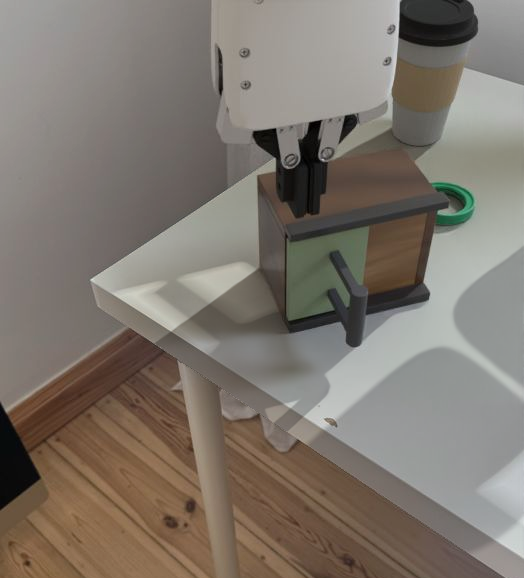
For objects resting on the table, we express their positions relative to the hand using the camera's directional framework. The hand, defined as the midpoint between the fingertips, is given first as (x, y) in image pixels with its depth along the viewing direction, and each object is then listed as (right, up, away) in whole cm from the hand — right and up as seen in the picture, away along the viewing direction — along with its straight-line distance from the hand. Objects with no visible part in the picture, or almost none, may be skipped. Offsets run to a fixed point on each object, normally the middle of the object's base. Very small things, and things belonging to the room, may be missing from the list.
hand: (300, 204), depth 49 cm
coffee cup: (+16, +16, +39) cm, 45 cm away
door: (+4, -8, +16) cm, 18 cm away
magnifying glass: (+13, +6, +30) cm, 33 cm away
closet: (+5, -3, +22) cm, 23 cm away
